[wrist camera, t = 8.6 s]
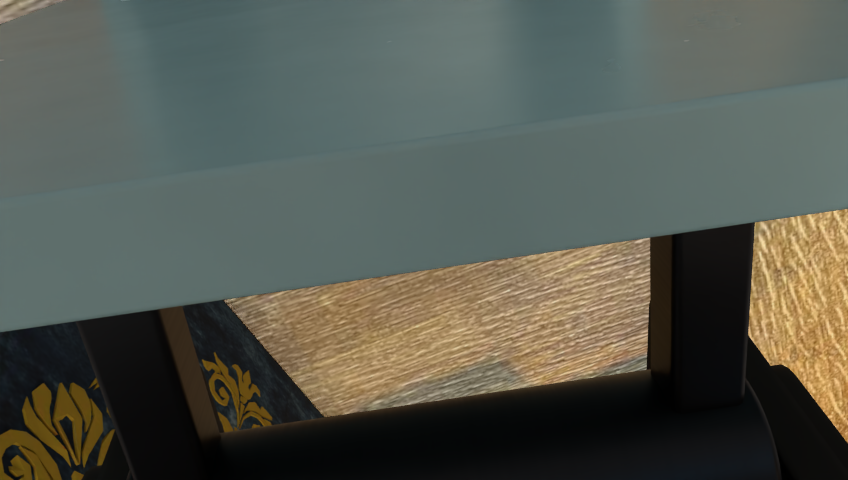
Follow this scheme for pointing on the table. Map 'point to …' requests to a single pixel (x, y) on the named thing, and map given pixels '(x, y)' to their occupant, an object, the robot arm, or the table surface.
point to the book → (85, 406)
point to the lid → (414, 205)
